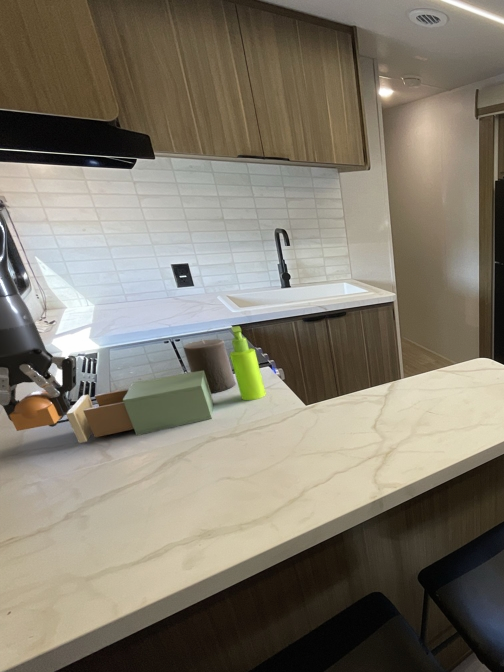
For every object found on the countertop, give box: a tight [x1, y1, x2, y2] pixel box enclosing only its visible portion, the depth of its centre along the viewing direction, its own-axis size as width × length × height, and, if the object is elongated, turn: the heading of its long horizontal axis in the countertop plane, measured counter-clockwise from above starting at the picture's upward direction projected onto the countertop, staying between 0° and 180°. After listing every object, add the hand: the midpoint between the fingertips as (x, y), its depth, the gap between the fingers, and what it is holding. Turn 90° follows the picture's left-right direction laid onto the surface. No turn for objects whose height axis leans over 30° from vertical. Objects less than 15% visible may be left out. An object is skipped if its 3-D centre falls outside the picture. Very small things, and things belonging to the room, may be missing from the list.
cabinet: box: [123, 370, 214, 436], centre depth 100 cm, size 15×13×9 cm
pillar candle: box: [183, 338, 237, 394], centre depth 117 cm, size 10×10×15 cm
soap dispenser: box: [229, 325, 267, 401], centre depth 109 cm, size 6×7×20 cm
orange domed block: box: [9, 390, 62, 432], centre depth 70 cm, size 5×8×5 cm, turn 32°
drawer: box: [47, 388, 134, 444], centre depth 94 cm, size 18×12×7 cm
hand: (43, 417), depth 71 cm, fingers closed on orange domed block, 4 cm apart
